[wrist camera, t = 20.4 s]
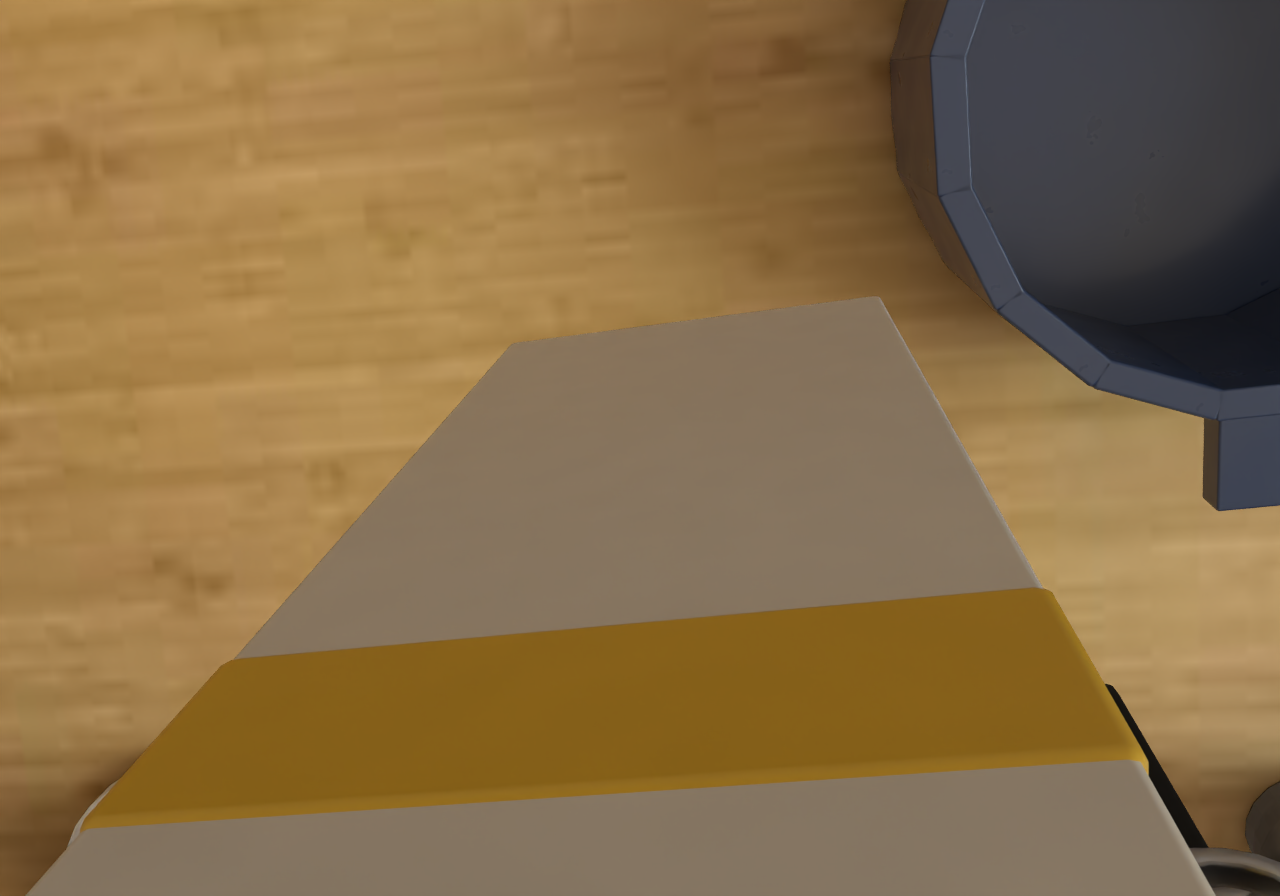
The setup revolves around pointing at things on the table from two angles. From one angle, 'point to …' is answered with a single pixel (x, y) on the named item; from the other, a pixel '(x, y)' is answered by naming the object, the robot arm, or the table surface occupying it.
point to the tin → (1114, 196)
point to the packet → (659, 659)
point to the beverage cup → (1265, 824)
